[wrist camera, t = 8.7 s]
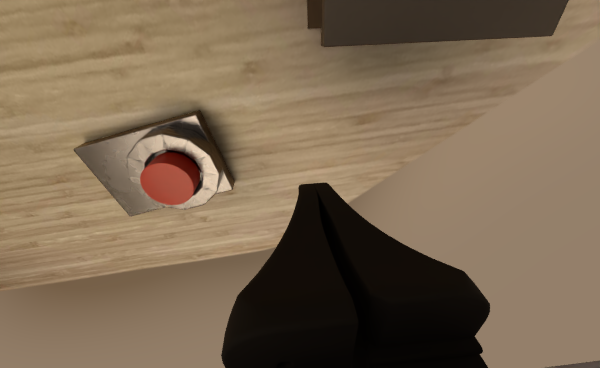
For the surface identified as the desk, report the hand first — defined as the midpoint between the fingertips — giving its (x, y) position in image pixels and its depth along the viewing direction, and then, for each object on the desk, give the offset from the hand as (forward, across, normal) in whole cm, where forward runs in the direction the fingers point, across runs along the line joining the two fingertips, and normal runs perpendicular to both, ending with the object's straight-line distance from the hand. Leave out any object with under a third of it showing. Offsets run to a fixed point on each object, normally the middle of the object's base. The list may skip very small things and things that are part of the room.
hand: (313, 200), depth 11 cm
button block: (+10, +12, +2) cm, 16 cm away
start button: (+8, +10, +2) cm, 13 cm away
